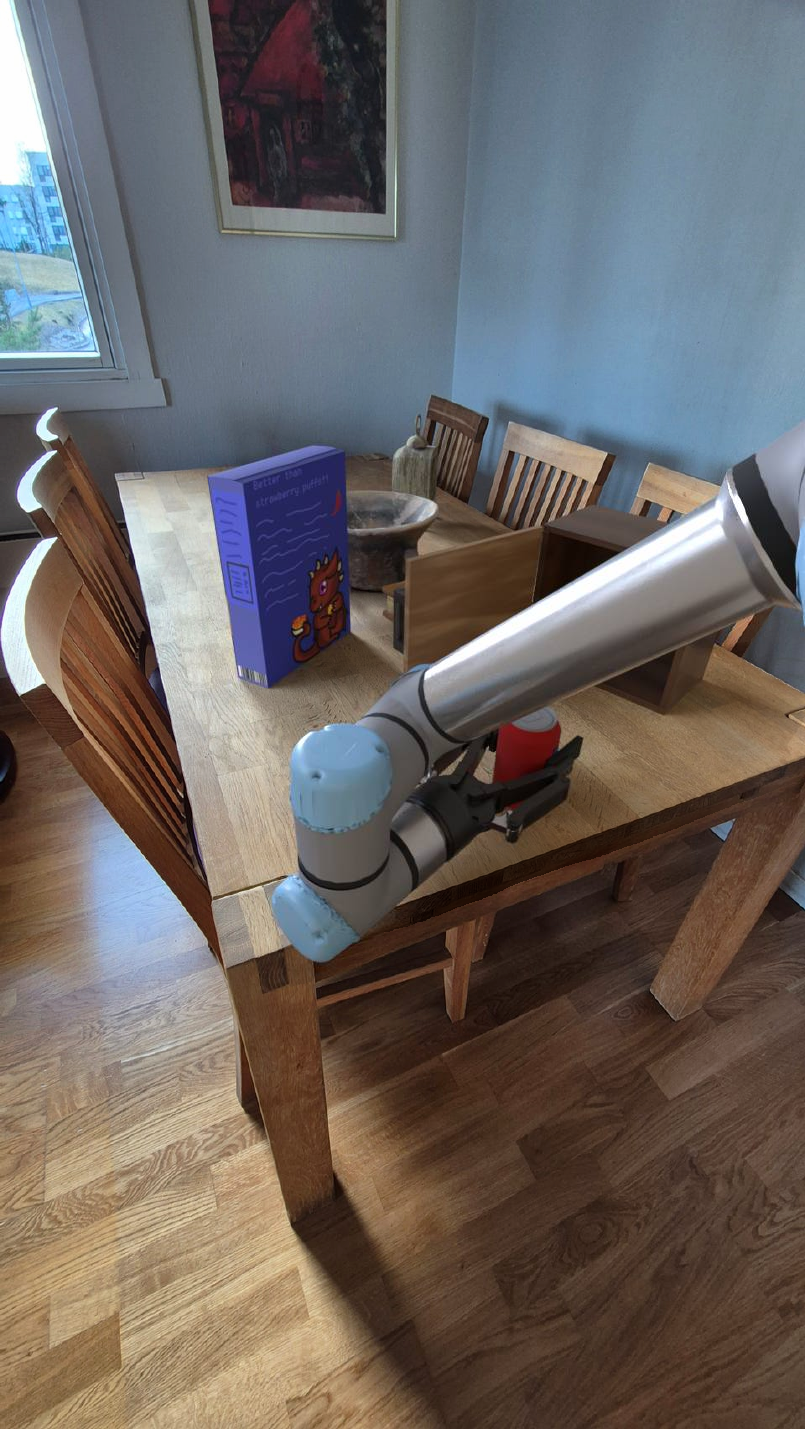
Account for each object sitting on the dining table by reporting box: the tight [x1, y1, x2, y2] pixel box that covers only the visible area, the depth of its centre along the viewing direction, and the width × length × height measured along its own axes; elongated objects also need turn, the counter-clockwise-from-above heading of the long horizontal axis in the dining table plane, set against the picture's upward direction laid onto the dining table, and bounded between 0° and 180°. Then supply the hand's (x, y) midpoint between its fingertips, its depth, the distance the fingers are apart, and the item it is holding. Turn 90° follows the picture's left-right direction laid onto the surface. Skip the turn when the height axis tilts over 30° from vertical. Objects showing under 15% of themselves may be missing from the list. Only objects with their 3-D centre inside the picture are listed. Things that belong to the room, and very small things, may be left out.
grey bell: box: [391, 413, 439, 503], centre depth 152 cm, size 14×9×25 cm, turn 170°
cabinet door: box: [392, 524, 544, 676], centre depth 92 cm, size 6×24×22 cm, turn 127°
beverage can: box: [491, 706, 562, 811], centre depth 71 cm, size 7×7×12 cm
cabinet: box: [532, 504, 720, 716], centre depth 94 cm, size 14×24×22 cm, turn 47°
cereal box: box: [206, 445, 352, 689], centre depth 94 cm, size 22×6×30 cm, turn 149°
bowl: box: [346, 490, 441, 592], centre depth 124 cm, size 27×26×15 cm
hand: (550, 732), depth 74 cm, fingers closed on beverage can, 7 cm apart
